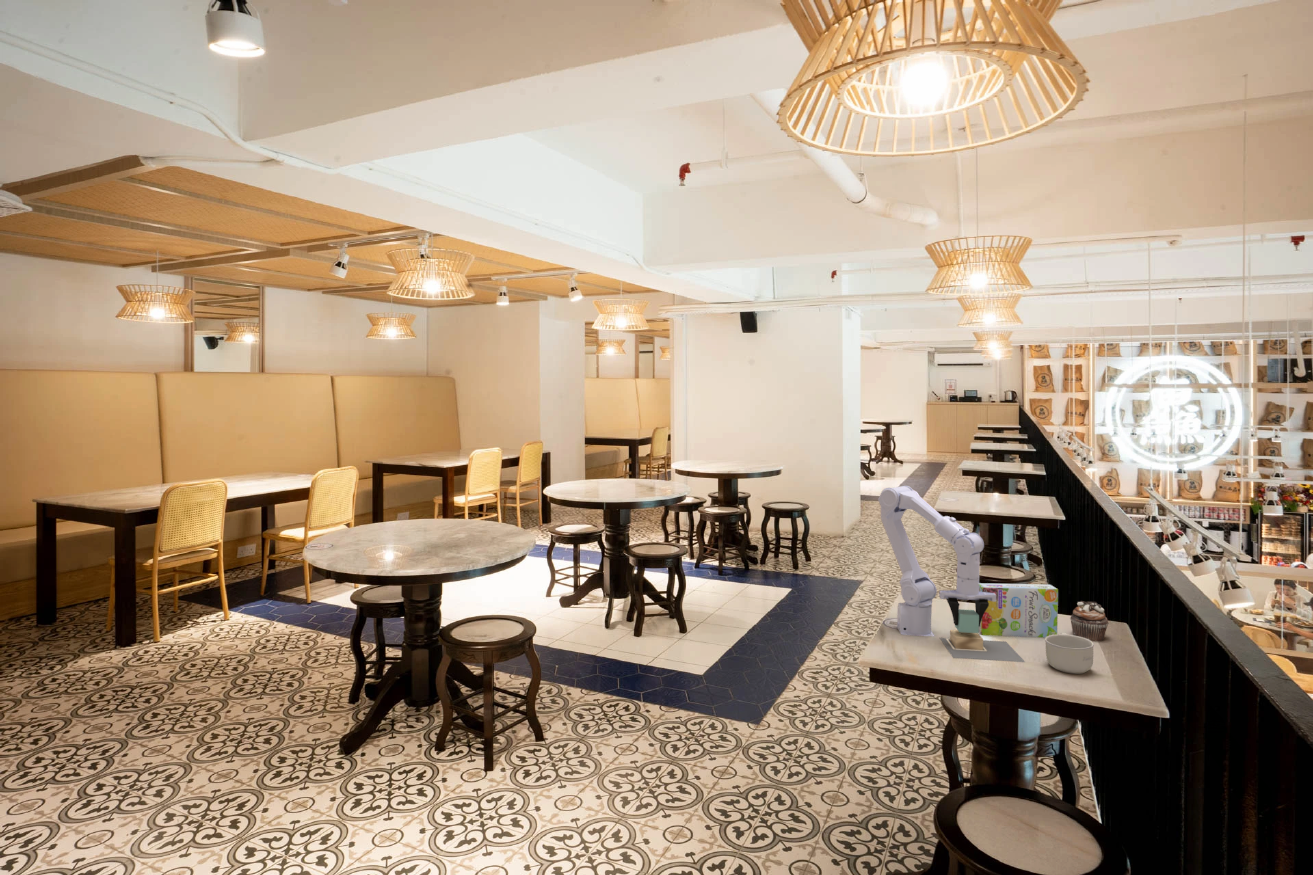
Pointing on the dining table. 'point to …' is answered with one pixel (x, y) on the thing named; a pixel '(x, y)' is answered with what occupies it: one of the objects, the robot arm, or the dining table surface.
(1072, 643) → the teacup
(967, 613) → the teal block
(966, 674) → the dining table surface
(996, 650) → the grey flat slab
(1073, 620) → the cupcake
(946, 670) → the dining table surface
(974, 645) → the maple base
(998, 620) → the snack box
